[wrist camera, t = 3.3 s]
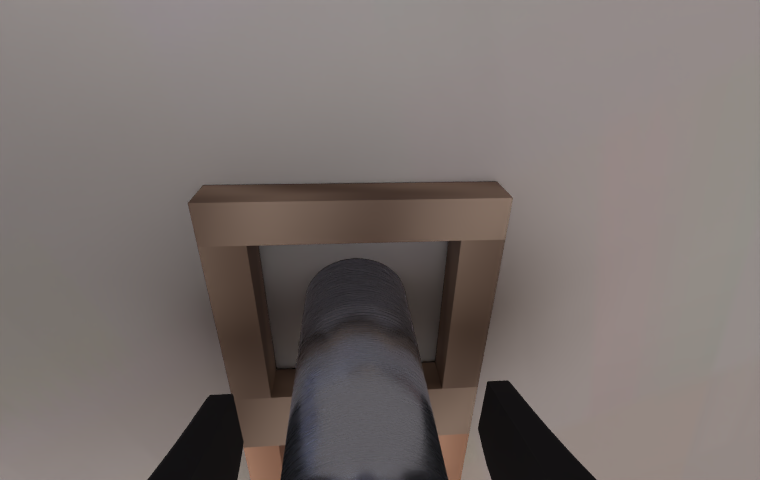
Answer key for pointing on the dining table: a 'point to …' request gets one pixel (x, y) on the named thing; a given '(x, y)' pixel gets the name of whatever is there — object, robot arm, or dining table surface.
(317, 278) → the metal peg
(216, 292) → the rail
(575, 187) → the dining table surface
